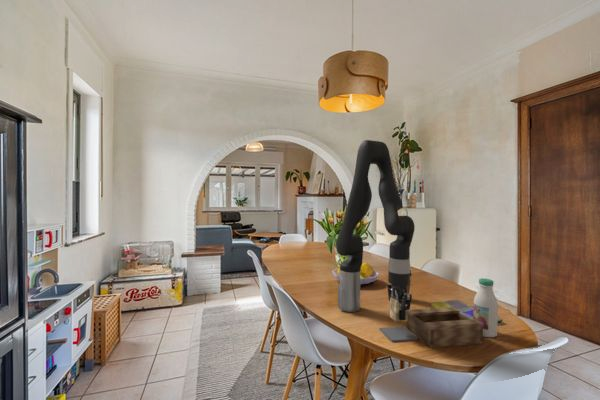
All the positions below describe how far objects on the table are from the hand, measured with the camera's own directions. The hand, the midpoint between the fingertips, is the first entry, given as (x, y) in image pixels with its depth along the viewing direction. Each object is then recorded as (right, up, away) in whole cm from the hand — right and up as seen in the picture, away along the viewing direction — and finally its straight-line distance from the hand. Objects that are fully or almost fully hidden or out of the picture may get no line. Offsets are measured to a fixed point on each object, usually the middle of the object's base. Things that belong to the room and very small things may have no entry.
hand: (398, 316), depth 109 cm
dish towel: (+35, -8, +20) cm, 41 cm away
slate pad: (0, -7, 0) cm, 7 cm away
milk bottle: (+33, -7, +2) cm, 34 cm away
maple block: (0, -1, 0) cm, 1 cm away
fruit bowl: (-3, -6, +69) cm, 69 cm away
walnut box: (+16, -7, 0) cm, 18 cm away
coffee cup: (+14, -7, +38) cm, 41 cm away
